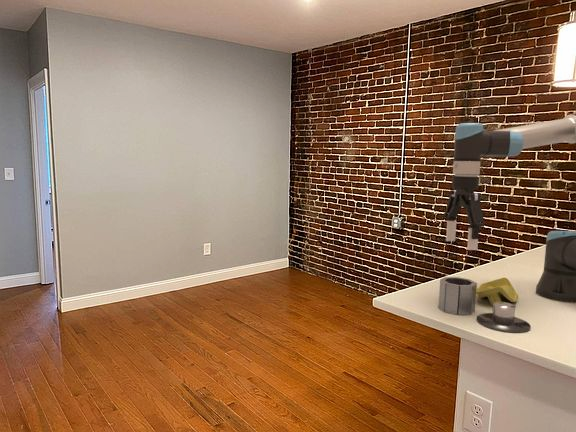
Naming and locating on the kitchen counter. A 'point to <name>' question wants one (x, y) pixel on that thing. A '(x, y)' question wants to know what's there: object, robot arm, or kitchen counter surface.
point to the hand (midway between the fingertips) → (460, 245)
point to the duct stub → (503, 319)
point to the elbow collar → (457, 295)
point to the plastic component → (497, 290)
